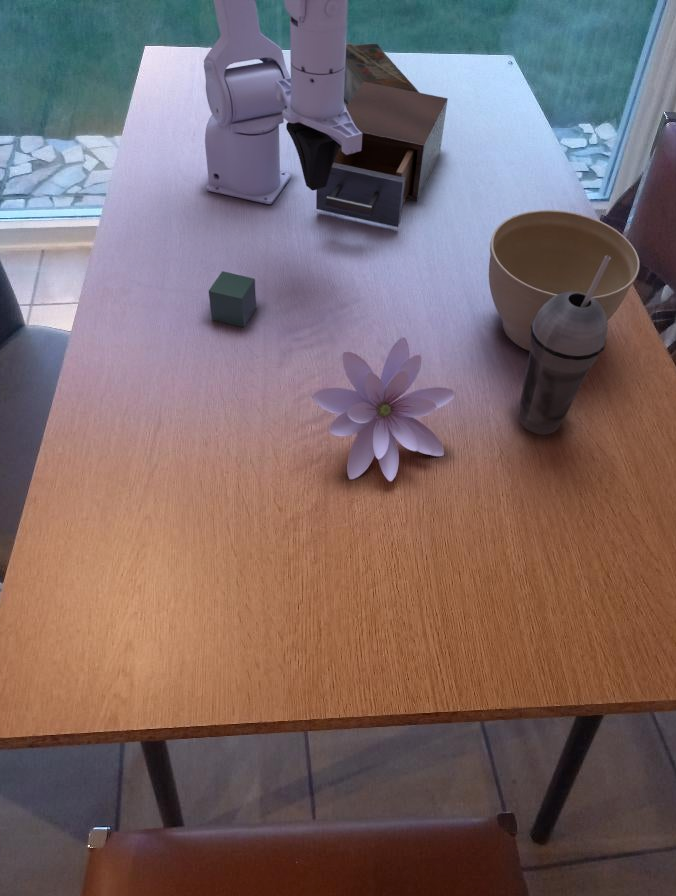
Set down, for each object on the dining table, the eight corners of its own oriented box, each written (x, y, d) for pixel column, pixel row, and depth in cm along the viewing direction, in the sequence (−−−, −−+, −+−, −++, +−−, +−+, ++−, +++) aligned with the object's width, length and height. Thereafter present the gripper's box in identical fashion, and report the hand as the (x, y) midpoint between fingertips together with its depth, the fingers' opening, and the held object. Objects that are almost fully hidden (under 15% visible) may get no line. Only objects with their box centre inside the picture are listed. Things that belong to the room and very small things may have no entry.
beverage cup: (499, 395, 85) (545, 232, 69) (564, 395, 86) (623, 233, 70) (512, 444, 80) (564, 282, 65) (580, 443, 81) (647, 282, 65)
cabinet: (416, 202, 108) (424, 145, 101) (331, 183, 109) (332, 126, 103) (440, 153, 117) (447, 98, 110) (360, 136, 118) (363, 81, 112)
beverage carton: (376, 80, 130) (379, 37, 125) (419, 135, 120) (424, 90, 115) (331, 84, 128) (332, 40, 123) (371, 140, 118) (374, 95, 113)
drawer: (388, 246, 99) (393, 201, 94) (304, 227, 101) (304, 181, 96) (422, 177, 110) (427, 133, 105) (345, 161, 112) (347, 117, 107)
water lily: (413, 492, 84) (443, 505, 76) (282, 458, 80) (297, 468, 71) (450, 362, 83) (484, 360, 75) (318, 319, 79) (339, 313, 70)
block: (211, 319, 90) (208, 290, 86) (225, 299, 92) (222, 270, 89) (244, 327, 89) (241, 298, 86) (256, 307, 91) (254, 278, 88)
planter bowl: (464, 288, 96) (480, 207, 88) (589, 289, 98) (617, 210, 89) (485, 376, 87) (505, 295, 78) (624, 376, 88) (658, 297, 80)
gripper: (249, 42, 82) (255, 165, 93) (323, 99, 75) (321, 225, 86) (305, 31, 85) (305, 152, 96) (382, 85, 78) (372, 208, 89)
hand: (316, 186), depth 91 cm, fingers closed
